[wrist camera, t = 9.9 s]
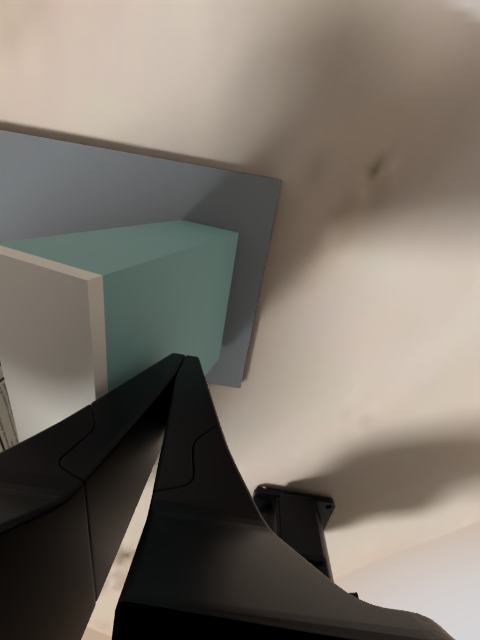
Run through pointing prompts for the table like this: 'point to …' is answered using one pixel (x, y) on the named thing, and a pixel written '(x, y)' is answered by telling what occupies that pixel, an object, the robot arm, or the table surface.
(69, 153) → the mat
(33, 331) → the slab
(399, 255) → the table surface
